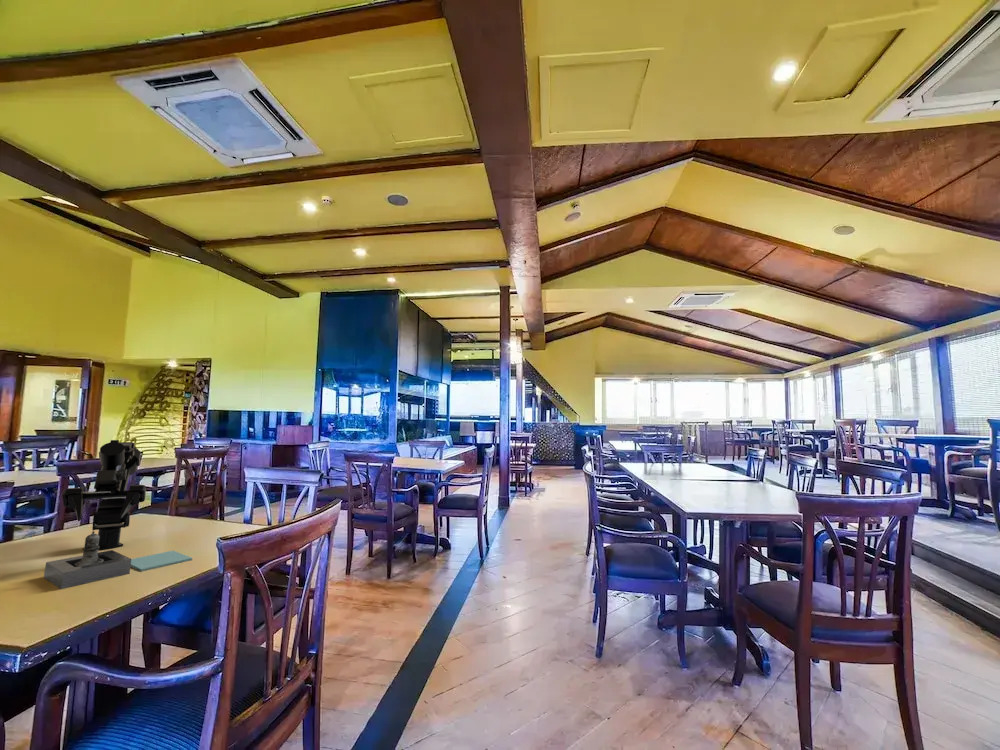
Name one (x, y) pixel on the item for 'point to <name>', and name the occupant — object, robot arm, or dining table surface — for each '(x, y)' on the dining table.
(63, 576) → the square socket
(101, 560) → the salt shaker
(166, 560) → the teal mat
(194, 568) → the dining table surface
